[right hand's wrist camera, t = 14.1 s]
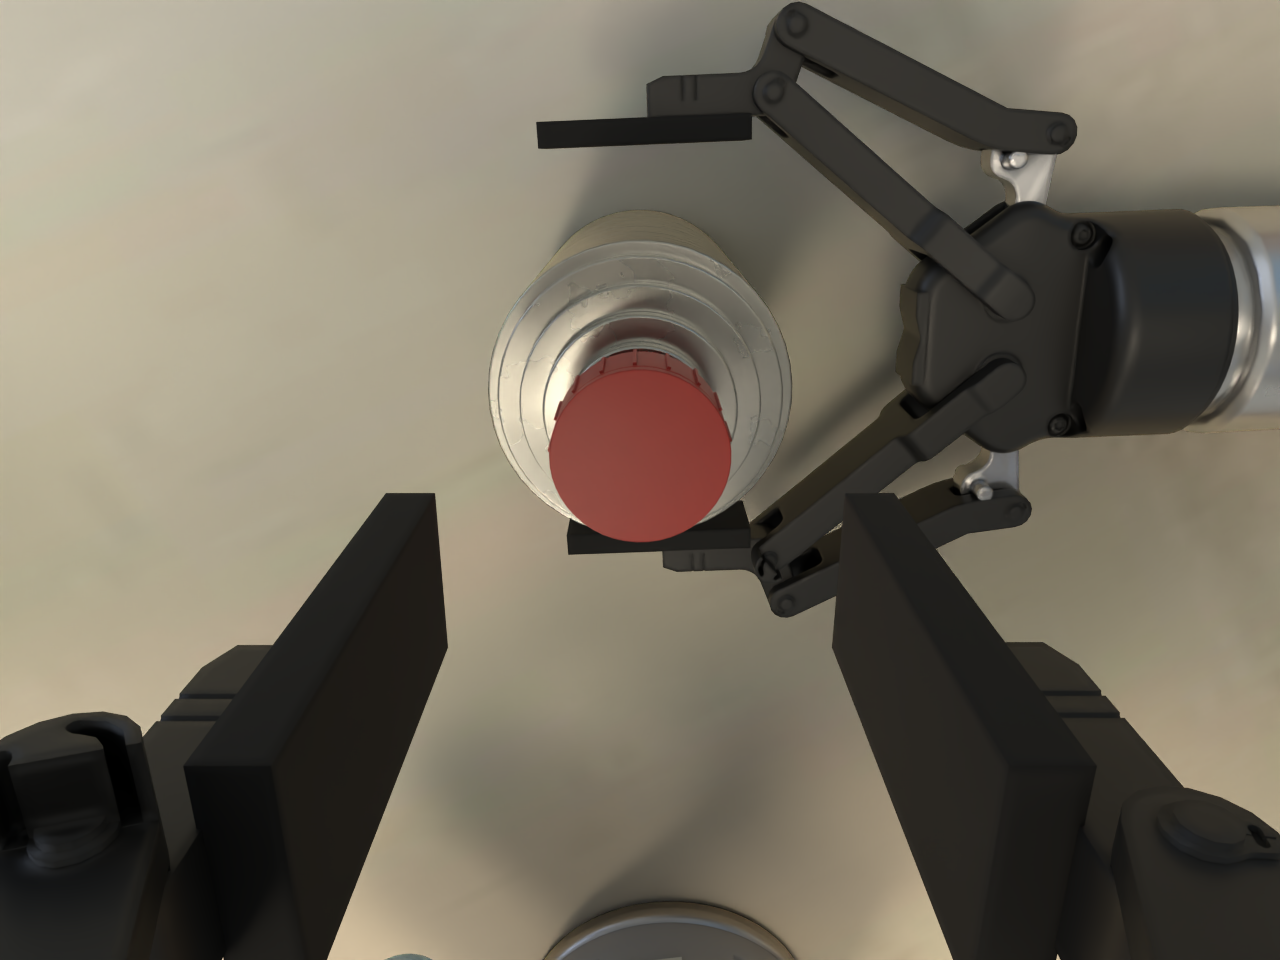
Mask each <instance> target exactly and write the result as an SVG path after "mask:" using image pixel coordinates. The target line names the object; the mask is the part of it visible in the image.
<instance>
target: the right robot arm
mask: <svg viewBox="0 0 1280 960" xmlns="http://www.w3.org/2000/svg"><path fill="white" fill-rule="evenodd" d="M447 648H448V643H447V631H446V619H445V607H444V595H443V583H442V571H441V559H440V547H439V536H438V524H437V512H436V500H435V493H386V494H385V495H384V497H383V498H382V499H381V501H380V502H379V503H378V505H377V506H376V507H375V509H374V510H373V511H372V513H371V514H370V515H369V517H368V518H367V519H366V521H365V522H364V523H363V525H362V526H361V528H360V529H359V530H358V532H357V533H356V534H355V536H354V537H353V538H352V540H351V541H350V542H349V544H348V545H347V546H346V548H345V549H344V550H343V552H342V553H341V554H340V556H339V557H338V558H337V560H336V561H335V562H334V564H333V565H332V566H331V568H330V569H329V570H328V572H327V573H326V575H325V576H324V577H323V579H322V580H321V581H320V583H319V584H318V585H317V587H316V588H315V589H314V591H313V592H312V593H311V595H310V596H309V597H308V599H307V600H306V601H305V603H304V604H303V605H302V607H301V608H300V609H299V611H298V612H297V613H296V615H295V616H294V617H293V619H292V620H291V622H290V623H289V624H288V626H287V627H286V628H285V630H284V631H283V632H282V634H281V635H280V636H279V638H278V639H277V640H276V642H275V643H274V644H273V645H237V646H235V647H234V648H232V649H231V650H229V651H228V652H226V653H224V654H223V655H221V656H220V657H218V658H216V659H215V660H213V661H212V662H210V663H208V664H207V665H205V666H204V667H202V668H201V669H200V670H199V672H198V673H197V674H196V675H195V676H194V677H193V679H192V680H191V681H190V682H189V683H188V685H187V686H186V687H185V688H184V689H183V690H182V692H181V693H180V697H179V699H175V700H174V701H173V702H172V703H171V705H170V706H169V707H168V708H167V709H166V710H165V712H164V713H163V714H162V715H161V721H156V722H155V723H154V725H153V726H152V727H151V728H150V729H149V730H148V732H147V733H146V734H145V735H144V736H143V737H142V732H141V728H140V726H139V725H137V724H136V723H135V722H134V721H132V720H131V719H130V718H128V717H127V716H124V715H118V714H113V713H108V712H91V713H77V714H70V715H66V716H62V717H58V718H54V719H50V720H46V721H42V722H38V723H36V724H34V725H31V726H29V727H27V728H24V729H22V730H20V731H17V732H15V733H13V734H10V735H8V736H6V737H4V738H3V739H1V740H0V960H222V958H224V960H327V958H328V955H329V953H330V950H331V948H332V945H333V942H334V940H335V937H336V935H337V932H338V929H339V927H340V924H341V922H342V919H343V917H344V914H345V911H346V909H347V906H348V904H349V901H350V899H351V896H352V893H353V891H354V888H355V886H356V883H357V880H358V878H359V875H360V873H361V870H362V868H363V865H364V862H365V860H366V857H367V855H368V852H369V850H370V847H371V844H372V842H373V839H374V837H375V834H376V831H377V829H378V826H379V824H380V821H381V819H382V816H383V813H384V811H385V808H386V806H387V803H388V801H389V798H390V795H391V793H392V790H393V788H394V785H395V783H396V780H397V777H398V775H399V772H400V770H401V767H402V764H403V762H404V759H405V757H406V754H407V752H408V749H409V746H410V744H411V741H412V739H413V736H414V734H415V731H416V728H417V726H418V723H419V721H420V718H421V715H422V713H423V710H424V708H425V705H426V703H427V700H428V697H429V695H430V692H431V690H432V687H433V685H434V682H435V679H436V677H437V674H438V672H439V669H440V666H441V664H442V661H443V659H444V656H445V654H446V651H447ZM832 648H833V651H834V654H835V656H836V659H837V661H838V664H839V667H840V669H841V672H842V674H843V677H844V679H845V682H846V685H847V687H848V690H849V692H850V695H851V697H852V700H853V703H854V705H855V708H856V710H857V713H858V715H859V718H860V721H861V723H862V726H863V728H864V731H865V734H866V736H867V739H868V741H869V744H870V746H871V749H872V752H873V754H874V757H875V759H876V762H877V764H878V767H879V770H880V772H881V775H882V777H883V780H884V783H885V785H886V788H887V790H888V793H889V795H890V798H891V801H892V803H893V806H894V808H895V811H896V813H897V816H898V819H899V821H900V824H901V826H902V829H903V832H904V834H905V837H906V839H907V842H908V844H909V847H910V850H911V852H912V855H913V857H914V860H915V862H916V865H917V868H918V870H919V873H920V875H921V878H922V880H923V883H924V886H925V888H926V891H927V893H928V896H929V899H930V901H931V904H932V906H933V909H934V911H935V914H936V917H937V919H938V922H939V924H940V927H941V929H942V932H943V935H944V937H945V940H946V942H947V945H948V948H949V950H950V953H951V955H952V958H953V960H1056V958H1057V954H1058V955H1059V957H1060V959H1061V960H1280V834H1279V833H1278V832H1277V831H1275V830H1274V829H1273V828H1272V827H1270V826H1269V825H1268V824H1266V823H1265V822H1264V821H1262V820H1261V819H1260V818H1258V817H1257V816H1256V815H1254V814H1253V813H1252V812H1250V811H1248V810H1245V809H1243V808H1241V807H1239V806H1237V805H1235V804H1233V803H1231V802H1229V801H1227V800H1225V799H1223V798H1221V797H1218V796H1214V795H1211V794H1207V793H1204V792H1200V791H1197V790H1193V789H1190V788H1184V787H1183V786H1182V785H1181V784H1180V782H1179V781H1178V780H1177V779H1176V778H1175V777H1174V775H1173V774H1172V773H1171V772H1170V771H1169V770H1168V768H1167V767H1166V766H1165V765H1164V764H1163V763H1162V761H1161V760H1160V759H1159V758H1158V757H1157V755H1156V754H1155V753H1154V752H1153V751H1152V750H1151V748H1150V747H1149V746H1148V745H1147V744H1146V743H1145V741H1144V740H1143V739H1142V738H1141V737H1140V736H1139V734H1138V733H1137V732H1136V731H1135V730H1134V729H1133V727H1132V726H1131V725H1130V724H1129V723H1128V722H1127V720H1126V719H1125V718H1120V712H1119V711H1118V710H1117V709H1116V708H1115V706H1114V705H1113V704H1112V703H1111V702H1110V701H1109V699H1108V698H1107V697H1106V696H1101V690H1100V689H1099V688H1098V687H1097V685H1096V684H1095V683H1094V682H1093V681H1092V680H1091V678H1090V677H1089V676H1088V675H1087V674H1086V673H1085V671H1084V670H1083V669H1082V668H1081V667H1080V666H1079V664H1077V663H1075V662H1074V661H1072V660H1071V659H1069V658H1067V657H1066V656H1064V655H1063V654H1061V653H1059V652H1058V651H1056V650H1055V649H1053V648H1051V647H1050V646H1048V645H1046V644H1045V643H1043V642H1004V640H1003V639H1002V638H1001V636H1000V635H999V634H998V632H997V631H996V630H995V628H994V627H993V626H992V624H991V623H990V622H989V620H988V619H987V617H986V616H985V615H984V613H983V612H982V611H981V609H980V608H979V607H978V605H977V604H976V603H975V601H974V600H973V599H972V597H971V596H970V595H969V593H968V592H967V591H966V589H965V588H964V587H963V585H962V584H961V583H960V581H959V580H958V579H957V577H956V576H955V575H954V573H953V572H952V570H951V569H950V568H949V566H948V565H947V564H946V562H945V561H944V560H943V558H942V557H941V556H940V554H939V553H938V552H937V550H936V549H935V548H934V546H933V545H932V544H931V542H930V541H929V540H928V538H927V537H926V536H925V534H924V533H923V532H922V530H921V529H920V528H919V526H918V525H917V523H916V522H915V521H914V519H913V518H912V517H911V515H910V514H909V513H908V511H907V510H906V509H905V507H904V506H903V505H902V503H901V502H900V501H899V499H898V498H897V497H896V495H895V494H894V493H845V500H844V512H843V524H842V535H841V547H840V559H839V571H838V583H837V595H836V607H835V619H834V631H833V642H832Z"/></svg>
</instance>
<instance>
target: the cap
mask: <svg viewBox="0 0 1280 960" xmlns="http://www.w3.org/2000/svg"><path fill="white" fill-rule="evenodd" d="M554 420H555V421H556V422H555V425H554V429H553V432H552V436H551V440H550V443H549V446H548V452H549V465H550V471H551V476H552V479H553V482H554V485H555V488H556V490H557V492H558V494H559V496H560V498H561V499H562V501H563V502H564V504H565V505H566V507H567V508H568V509H569V510H570V511H571V512H572V514H573V515H574V516H575V517H576V518H578V519H579V520H580V521H581V522H582V523H583V524H585V525H586V526H588V527H589V528H591V529H593V530H594V531H596V532H598V533H600V534H602V535H605V536H608V537H611V538H614V539H618V540H622V541H629V542H651V541H658V540H663V539H666V538H670V537H673V536H675V535H678V534H680V533H682V532H684V531H686V530H688V529H689V528H691V527H693V526H694V525H695V524H697V523H698V522H699V521H701V520H702V519H703V518H704V517H705V516H706V515H707V514H708V513H709V512H710V511H711V510H712V508H713V507H714V506H715V505H716V503H717V502H718V500H719V498H720V497H721V495H722V493H723V491H724V489H725V486H726V484H727V481H728V477H729V474H730V468H731V443H730V442H732V437H731V434H730V431H729V428H728V425H727V422H726V421H724V417H723V414H722V407H721V404H720V400H719V397H718V394H717V392H714V393H713V391H712V389H711V388H710V386H709V385H708V384H707V383H706V381H705V380H704V379H703V378H702V377H701V376H700V375H699V373H698V370H697V369H696V368H694V369H692V368H690V367H689V366H688V365H686V364H684V363H683V362H681V361H679V360H677V359H675V358H672V357H670V355H669V354H668V353H666V354H665V355H663V354H659V353H654V352H644V351H641V352H637V349H633V352H627V353H621V354H618V355H614V356H611V357H608V358H605V356H604V357H602V358H601V361H599V362H598V363H596V364H595V365H593V366H591V367H590V368H589V369H587V370H586V371H585V372H584V373H582V374H581V375H580V376H579V375H577V376H576V377H575V381H574V383H573V384H572V386H571V387H570V389H569V390H568V392H567V393H566V395H565V397H564V399H563V401H561V400H560V402H559V404H558V407H557V410H556V414H555V417H554Z"/></svg>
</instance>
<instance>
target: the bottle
mask: <svg viewBox="0 0 1280 960" xmlns="http://www.w3.org/2000/svg"><path fill="white" fill-rule="evenodd" d="M633 349H637V352H641V351H644V352H654V353H659V354H663V355H665V354H666V353H668V354H669V355H670V357H672V358H675V359H677V360H679V361H681V362H683V363H684V364H686V365H688V366H689V367H690V368H692V369H694V368H696V369H697V370H698V373H699V375H700V376H701V377H702V378H703V379H704V380H705V381H706V383H707V384H708V385H709V386H710V388H711V389H712V391H713V393H714V392H717V394H718V397H719V400H720V404H721V407H722V414H723V417H724V421H726V422H727V425H728V428H729V431H730V434H731V437H732V442H730V443H731V468H730V474H729V477H728V481H727V484H726V486H725V489H724V491H723V493H722V495H721V497H720V498H719V500H718V502H717V503H716V505H715V506H714V507H713V508H712V510H711V511H710V512H709V513H708V514H707V515H706V516H705V517H704V518H703V519H702V520H701V521H699V522H698V523H697V524H700V523H702V522H705V521H707V520H709V519H711V518H712V517H714V516H716V515H718V514H720V513H722V512H723V511H725V510H726V509H727V508H729V507H730V506H732V505H733V504H734V503H736V502H737V501H738V500H740V499H741V498H742V497H743V496H744V495H745V494H746V493H747V492H748V491H749V490H750V489H751V488H752V487H753V486H754V485H755V484H756V483H757V481H758V480H759V479H760V478H761V476H762V475H763V474H764V473H765V471H766V470H767V468H768V467H769V465H770V463H771V462H772V460H773V459H774V457H775V455H776V453H777V451H778V448H779V446H780V444H781V442H782V440H783V437H784V433H785V430H786V427H787V424H788V420H789V414H790V408H791V402H792V376H791V366H790V360H789V356H788V352H787V348H786V344H785V341H784V339H783V336H782V334H781V331H780V329H779V326H778V324H777V322H776V321H775V319H774V317H773V315H772V313H771V312H770V310H769V308H768V307H767V306H766V304H765V303H764V302H763V300H762V299H761V298H760V296H759V295H758V294H757V292H756V291H755V290H754V289H753V287H752V286H751V285H750V284H749V283H748V281H747V280H746V279H745V278H744V277H743V275H742V274H741V273H740V272H739V271H738V269H737V268H736V267H735V266H734V265H733V263H732V262H731V261H730V260H729V259H728V257H727V256H726V255H725V254H724V253H723V251H722V250H721V249H720V248H719V247H718V245H717V244H716V243H715V242H714V241H713V240H712V239H711V238H710V237H709V236H708V235H706V234H705V233H704V232H703V231H701V230H700V229H699V228H697V227H696V226H694V225H692V224H691V223H689V222H687V221H685V220H683V219H681V218H678V217H676V216H673V215H670V214H666V213H662V212H658V211H649V210H630V211H623V212H617V213H614V214H611V215H607V216H604V217H602V218H600V219H597V220H595V221H593V222H591V223H589V224H588V225H586V226H585V227H583V228H582V229H580V230H579V231H578V232H576V233H575V234H574V235H573V236H572V237H570V238H569V239H568V240H567V242H566V243H565V244H564V245H563V246H562V247H561V248H560V249H559V251H558V252H557V253H556V254H555V255H554V257H553V258H552V259H551V260H550V261H549V263H548V264H547V265H546V266H545V267H544V269H543V270H542V271H541V272H540V273H539V275H538V276H537V277H536V278H535V280H534V281H533V282H532V283H531V284H530V286H529V287H528V288H527V289H526V290H525V292H524V293H523V294H522V295H521V296H520V298H519V299H518V300H517V302H516V303H515V305H514V306H513V308H512V309H511V311H510V312H509V314H508V315H507V317H506V319H505V322H504V324H503V326H502V328H501V330H500V332H499V334H498V337H497V340H496V343H495V346H494V349H493V353H492V358H491V363H490V369H489V383H488V394H489V406H490V413H491V417H492V422H493V426H494V430H495V432H496V435H497V438H498V441H499V443H500V446H501V448H502V450H503V452H504V454H505V456H506V458H507V460H508V461H509V463H510V465H511V466H512V468H513V469H514V470H515V472H516V473H517V475H518V476H519V478H520V479H521V480H522V481H523V482H524V483H525V484H526V485H527V487H528V488H529V489H530V490H531V491H532V492H533V493H534V494H535V495H536V496H538V497H539V498H540V499H541V500H542V501H543V502H545V503H546V504H547V505H548V506H550V507H551V508H553V509H554V510H556V511H558V512H559V513H561V514H562V515H564V516H566V517H568V518H570V519H572V520H574V521H576V522H578V523H580V524H583V523H582V522H581V521H580V520H579V519H578V518H576V517H575V516H574V515H573V514H572V512H571V511H570V510H569V509H568V508H567V507H566V505H565V504H564V502H563V501H562V499H561V498H560V496H559V494H558V492H557V490H556V488H555V485H554V482H553V479H552V476H551V471H550V465H549V452H548V446H549V443H550V440H551V436H552V432H553V429H554V425H555V422H556V421H555V420H554V417H555V414H556V410H557V407H558V404H559V402H560V400H561V401H563V399H564V397H565V395H566V393H567V392H568V390H569V389H570V387H571V386H572V384H573V383H574V381H575V377H576V376H577V375H579V376H580V375H581V374H582V373H584V372H585V371H586V370H587V369H589V368H590V367H591V366H593V365H595V364H596V363H598V362H599V361H601V358H602V357H604V356H605V358H608V357H611V356H614V355H618V354H621V353H627V352H633ZM697 524H695V525H697ZM583 525H585V524H583ZM695 525H694V526H695Z"/></svg>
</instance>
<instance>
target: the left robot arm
mask: <svg viewBox="0 0 1280 960" xmlns="http://www.w3.org/2000/svg"><path fill="white" fill-rule="evenodd" d="M801 67H803V68H805V69H807V70H809V71H811V72H813V73H815V74H817V75H819V76H821V77H823V78H825V79H827V80H829V81H831V82H832V83H834V84H836V85H838V86H840V87H842V88H844V89H846V90H848V91H850V92H852V93H854V94H856V95H858V96H860V97H862V98H864V99H866V100H868V101H870V102H872V103H874V104H876V105H878V106H880V107H882V108H884V109H886V110H888V111H890V112H892V113H893V114H895V115H897V116H899V117H901V118H903V119H905V120H907V121H909V122H911V123H913V124H915V125H917V126H919V127H921V128H923V129H925V130H927V131H929V132H931V133H933V134H935V135H937V136H939V137H941V138H943V139H945V140H947V141H949V142H951V143H954V144H956V145H958V146H961V147H965V148H968V149H972V150H977V151H982V154H981V167H982V170H983V171H984V173H985V174H986V175H988V176H989V177H992V178H994V179H997V180H999V181H1000V182H1001V183H1002V184H1003V186H1004V188H1005V192H1006V198H1005V202H1002V203H1000V204H998V205H996V206H994V207H993V208H992V209H990V210H989V211H988V212H986V213H985V214H984V215H982V216H981V217H980V218H978V219H977V220H975V221H974V222H973V223H971V224H970V225H969V226H967V227H966V228H965V229H963V228H962V227H961V226H960V225H958V224H957V223H956V222H955V221H954V220H953V219H952V218H950V217H949V216H948V215H947V214H945V213H944V212H942V211H941V210H939V209H937V208H936V207H935V206H933V205H932V204H931V203H930V202H929V201H928V200H927V199H925V198H924V197H923V196H922V195H921V194H920V193H919V192H918V191H916V190H915V189H914V188H913V187H912V186H911V185H910V184H909V183H908V182H906V181H905V180H904V179H903V178H902V177H901V176H900V175H899V174H897V173H896V172H895V171H894V170H893V169H892V168H891V167H890V166H888V165H887V164H886V163H885V162H884V161H883V160H882V159H881V158H880V157H878V156H877V155H876V154H875V153H874V152H873V151H872V150H871V149H869V148H868V147H867V146H866V145H865V144H864V143H863V142H862V141H861V140H859V139H858V138H857V137H856V136H855V135H854V134H853V133H852V132H850V131H849V130H848V129H847V128H846V127H845V126H844V125H843V124H841V123H840V122H839V121H838V120H837V119H836V118H835V117H834V116H833V115H831V114H830V113H829V112H828V111H827V110H826V109H825V108H824V107H822V106H821V105H820V104H819V103H818V102H817V101H816V100H815V99H814V98H812V97H811V96H810V95H809V94H808V93H807V92H806V91H805V90H803V89H802V88H801V87H800V86H799V85H798V84H797V83H796V81H797V78H798V75H799V72H800V69H801ZM646 91H647V117H642V118H619V119H596V120H573V121H549V122H536V124H537V138H538V149H555V148H579V147H602V146H626V145H649V144H673V143H696V142H720V141H743V140H751V139H752V116H756V117H757V118H758V119H760V120H761V121H762V122H763V123H764V124H765V125H767V126H768V127H769V128H770V129H771V130H772V131H773V132H775V133H776V134H777V135H778V136H779V137H780V138H781V139H783V140H784V141H785V142H786V143H787V144H788V145H789V146H791V147H792V148H793V149H794V150H795V151H796V152H797V153H799V154H800V155H801V156H802V157H803V158H804V159H805V160H807V161H808V162H809V163H810V164H811V165H812V166H814V167H815V168H816V169H817V170H818V171H819V172H820V173H822V174H823V175H824V176H825V177H826V178H827V179H828V180H830V181H831V182H832V183H833V184H834V185H835V186H836V187H838V188H839V189H840V190H841V191H842V192H843V193H844V194H846V195H847V196H848V197H849V198H850V199H851V200H852V201H854V202H855V203H856V204H857V205H858V206H859V207H861V208H862V209H863V210H864V211H865V212H866V213H867V214H869V215H870V216H871V217H872V218H873V219H874V220H875V221H877V222H878V223H879V224H880V225H881V226H882V227H883V228H885V229H886V230H887V231H888V232H889V233H890V235H891V236H892V237H893V238H894V239H895V240H896V241H897V242H898V243H899V244H901V245H902V246H903V247H904V248H905V249H906V250H907V251H909V252H910V253H911V254H912V255H913V256H914V257H915V258H917V259H918V260H919V261H920V263H919V264H917V266H916V267H915V268H914V269H913V271H912V272H911V274H910V276H909V278H908V280H907V282H906V284H901V290H900V311H901V316H902V320H903V325H904V331H903V334H902V337H901V340H900V343H899V346H898V349H897V357H896V372H897V373H898V374H899V375H900V376H901V380H902V383H903V385H904V387H905V390H904V391H903V392H902V393H900V394H899V395H898V396H897V397H896V398H894V399H893V400H892V401H891V402H889V403H888V404H887V405H886V406H885V407H884V408H883V409H882V411H881V413H880V415H879V417H878V418H877V419H876V420H875V421H874V422H873V423H872V424H870V425H869V426H868V427H867V428H866V429H864V430H863V431H862V432H861V433H859V434H858V435H857V436H856V437H855V438H853V439H852V440H851V441H850V442H848V443H847V444H846V445H845V446H843V447H842V448H841V449H840V450H839V451H837V452H836V453H835V454H834V455H832V456H831V457H830V458H829V459H828V460H826V461H825V462H824V463H823V464H821V465H820V466H819V467H818V468H817V469H815V470H814V471H813V472H812V473H810V474H809V475H808V476H807V477H806V478H804V479H803V480H802V481H801V482H799V483H798V484H797V485H796V486H794V487H793V488H792V489H791V490H790V491H788V492H787V493H786V494H785V495H783V496H782V497H781V498H780V499H779V500H777V501H776V502H775V503H774V504H772V505H771V506H770V507H769V508H768V509H766V510H765V511H764V512H763V513H761V514H760V515H759V516H758V517H756V518H755V519H754V520H753V521H752V522H750V524H749V521H748V518H747V514H746V511H745V508H744V504H743V501H737V502H736V503H734V504H733V505H732V506H730V507H729V508H727V509H726V510H725V511H723V512H722V513H720V514H718V515H716V516H714V517H712V518H711V519H709V520H707V521H705V522H702V523H700V524H697V525H695V526H693V527H691V528H689V529H688V530H686V531H684V532H682V533H680V534H678V535H675V536H673V537H670V538H666V539H663V540H658V541H651V542H629V541H622V540H618V539H614V538H611V537H608V536H605V535H602V534H600V533H598V532H596V531H594V530H593V529H591V528H589V527H588V526H586V525H583V524H580V523H578V522H576V521H574V520H572V519H570V522H569V527H568V532H567V543H568V555H574V554H601V553H628V552H656V551H662V555H663V567H664V568H667V569H670V570H673V571H676V572H685V571H703V570H705V571H713V570H747V571H750V572H752V573H754V574H755V575H756V576H757V577H758V579H759V580H760V582H761V584H762V587H763V589H764V592H765V594H766V596H767V599H768V601H769V604H770V607H771V610H772V611H773V613H774V614H775V615H777V616H779V617H785V618H788V617H791V616H794V615H796V614H798V613H801V612H803V611H805V610H807V609H809V608H811V607H813V606H815V605H817V604H820V603H822V602H824V601H826V600H828V599H830V598H832V597H834V596H836V595H837V583H838V571H839V559H840V547H841V535H842V527H841V528H839V529H837V530H835V531H833V532H831V533H829V534H827V533H828V532H829V531H830V530H832V529H833V528H834V527H836V526H837V525H838V524H839V523H841V522H842V521H843V512H844V500H845V493H878V492H880V491H881V490H882V489H883V488H885V487H886V486H887V485H889V484H890V483H891V482H892V481H894V480H895V479H896V478H897V477H899V476H900V475H901V474H902V473H904V472H905V471H906V470H907V469H909V468H910V467H911V466H913V465H914V464H915V463H917V462H921V461H927V460H929V459H931V458H933V457H934V456H936V455H937V454H938V453H939V452H941V451H942V450H943V449H944V448H946V447H947V446H948V445H949V444H951V443H952V442H953V441H955V440H956V439H957V438H958V437H960V436H961V435H962V434H964V435H965V436H967V437H968V438H970V439H971V440H973V441H974V442H976V443H977V444H978V445H980V446H981V451H980V453H979V455H978V456H977V458H976V459H974V460H973V461H972V462H970V463H967V464H965V465H960V466H958V467H957V469H956V470H955V474H954V476H953V478H952V479H947V480H943V481H940V482H936V483H933V484H931V485H929V486H926V487H924V488H921V489H919V490H917V491H915V492H913V493H911V494H909V495H907V496H905V497H903V498H901V499H899V501H900V502H901V503H902V505H903V506H904V507H905V509H906V510H907V511H908V513H909V514H910V515H911V517H912V518H913V519H914V521H915V522H916V523H917V525H918V526H919V528H920V529H921V530H922V532H923V533H924V534H925V536H926V537H927V538H928V540H929V541H930V542H931V544H932V545H933V546H934V548H935V549H936V548H938V547H940V546H942V545H944V544H947V543H949V542H951V541H953V540H955V539H957V538H959V537H961V536H963V535H966V534H968V533H975V532H982V531H990V530H997V529H1004V528H1011V527H1016V526H1019V525H1022V524H1023V523H1025V522H1026V521H1027V520H1028V518H1029V517H1030V515H1031V511H1032V507H1031V503H1030V502H1029V501H1028V500H1027V498H1025V497H1024V496H1023V495H1022V494H1021V493H1020V491H1019V449H1021V448H1023V447H1025V446H1027V445H1029V444H1031V443H1033V442H1035V441H1038V440H1041V439H1045V438H1053V437H1059V438H1078V437H1102V436H1129V435H1155V434H1170V433H1174V432H1177V431H1179V430H1182V429H1183V430H1185V431H1187V432H1194V433H1220V432H1238V431H1256V430H1274V429H1280V205H1278V206H1250V207H1222V208H1209V209H1203V210H1200V211H1198V212H1196V213H1192V212H1190V211H1186V210H1182V209H1167V210H1143V211H1118V212H1093V213H1060V212H1058V211H1055V210H1053V209H1052V208H1050V207H1048V206H1047V205H1046V202H1047V197H1048V193H1049V188H1050V184H1051V179H1052V175H1053V170H1054V165H1055V161H1056V156H1057V154H1061V153H1063V152H1065V151H1067V150H1068V149H1069V148H1070V147H1071V146H1072V144H1073V143H1074V141H1075V139H1076V136H1077V126H1076V123H1075V120H1074V119H1073V118H1072V117H1071V116H1070V115H1068V114H1065V113H1060V112H1048V111H1035V110H1023V109H1011V108H1006V107H1004V106H1002V105H1000V104H998V103H996V102H995V101H993V100H991V99H989V98H987V97H985V96H983V95H981V94H979V93H977V92H975V91H973V90H971V89H970V88H968V87H966V86H964V85H962V84H960V83H958V82H956V81H954V80H952V79H950V78H948V77H946V76H945V75H943V74H941V73H939V72H937V71H935V70H933V69H931V68H929V67H927V66H925V65H923V64H921V63H920V62H918V61H916V60H914V59H912V58H910V57H908V56H906V55H904V54H902V53H900V52H898V51H896V50H895V49H893V48H891V47H889V46H887V45H885V44H883V43H881V42H879V41H877V40H875V39H873V38H871V37H870V36H868V35H866V34H864V33H862V32H860V31H858V30H856V29H854V28H852V27H850V26H848V25H846V24H844V23H843V22H841V21H839V20H837V19H835V18H833V17H831V16H829V15H827V14H825V13H823V12H821V11H819V10H818V9H816V8H814V7H812V6H810V5H808V4H806V3H802V2H794V3H790V4H789V5H787V6H786V7H784V8H783V9H782V10H781V11H780V12H779V13H778V14H777V15H776V16H775V17H774V18H773V19H772V20H771V22H770V23H769V25H768V26H767V30H766V36H765V39H764V42H763V45H762V48H761V51H760V54H759V57H758V60H757V62H756V64H755V65H754V66H753V68H752V69H751V70H749V71H746V72H742V73H726V74H703V75H683V76H662V77H660V78H658V79H656V80H654V81H652V82H650V83H648V84H647V86H646ZM825 534H827V535H825ZM824 535H825V536H824ZM385 960H432V959H430V958H428V957H425V956H422V955H417V954H402V955H397V956H393V957H391V958H388V959H385ZM544 960H794V958H793V957H792V955H791V954H790V953H789V951H788V950H787V949H786V948H785V947H784V946H783V945H782V944H781V943H780V942H779V941H778V940H777V939H776V938H775V937H774V936H773V935H772V934H770V933H769V932H768V931H766V930H765V929H763V928H762V927H760V926H759V925H757V924H756V923H754V922H752V921H750V920H748V919H746V918H744V917H742V916H740V915H737V914H735V913H732V912H729V911H726V910H723V909H720V908H716V907H712V906H708V905H703V904H696V903H688V902H652V903H644V904H637V905H632V906H628V907H624V908H620V909H617V910H614V911H611V912H608V913H605V914H603V915H600V916H598V917H596V918H594V919H592V920H590V921H588V922H586V923H584V924H582V925H581V926H579V927H578V928H576V929H575V930H573V931H572V932H570V933H569V934H568V935H567V936H565V937H564V938H563V939H562V940H561V941H560V942H559V943H558V944H557V945H556V946H555V947H554V948H553V949H552V950H551V951H550V953H549V954H548V955H547V956H546V958H545V959H544Z"/></svg>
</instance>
